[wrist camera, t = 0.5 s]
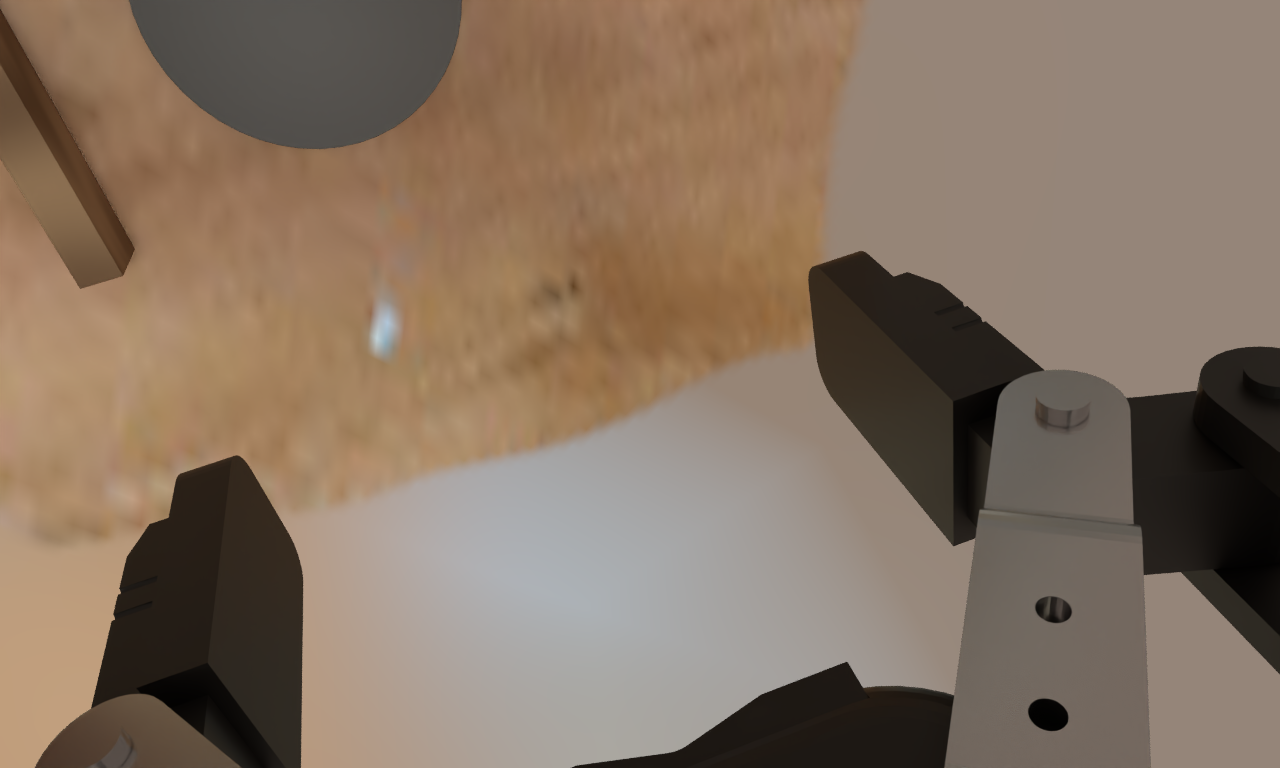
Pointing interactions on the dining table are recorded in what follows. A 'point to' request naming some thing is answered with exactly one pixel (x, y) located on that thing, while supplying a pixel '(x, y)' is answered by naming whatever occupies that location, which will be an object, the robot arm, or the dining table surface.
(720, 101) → the dining table surface
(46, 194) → the wall
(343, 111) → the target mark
